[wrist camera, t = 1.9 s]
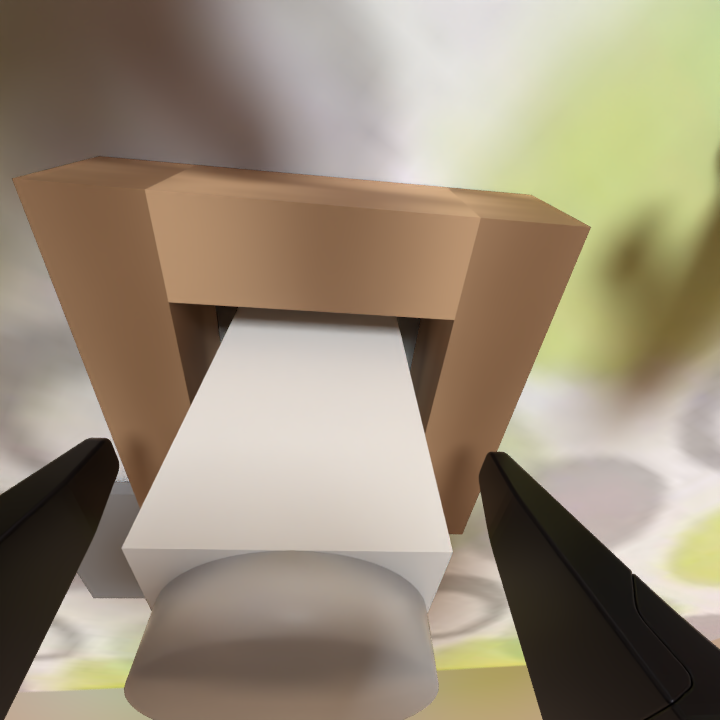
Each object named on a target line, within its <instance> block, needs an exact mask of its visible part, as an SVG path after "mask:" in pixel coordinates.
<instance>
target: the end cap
mask: <svg viewBox="0 0 720 720" xmlns="http://www.w3.org/2000/svg"><path fill="white" fill-rule="evenodd" d="M121 549H122V551H123V553H124V555H125V557H126V559H127V561H128V563H129V565H130V567H131V569H132V571H133V573H134V576H135V578H136V580H137V582H138V584H139V586H140V588H141V590H142V592H143V594H144V596H145V598H146V601H147V603H148V605H149V607H150V609H151V611H152V612H151V615H150V618H149V620H148V623H147V626H146V629H145V631H144V634H143V637H142V640H141V642H140V645H139V648H138V650H137V653H136V656H135V659H134V661H133V664H132V667H131V669H130V672H129V675H128V678H127V680H126V683H125V687H124V693H125V697H126V699H127V700H128V702H129V703H130V704H131V705H132V706H133V707H134V708H135V709H136V710H137V711H139V712H140V713H142V714H143V715H145V716H147V717H149V718H151V719H153V720H404V719H406V718H408V717H410V716H413V715H415V714H416V713H418V712H419V711H421V710H423V709H424V708H426V707H427V706H428V705H429V704H430V703H431V702H432V701H433V700H434V699H435V697H436V695H437V693H438V687H439V686H438V685H439V684H438V677H437V671H436V665H435V659H434V653H433V646H432V640H431V634H430V628H429V622H428V615H427V614H428V611H429V609H430V606H431V604H432V602H433V599H434V597H435V594H436V592H437V590H438V587H439V585H440V582H441V580H442V578H443V575H444V573H445V570H446V568H447V566H448V563H449V561H450V558H451V556H452V554H453V550H452V546H451V542H450V538H449V533H448V529H447V525H446V521H445V517H444V513H443V508H442V504H441V500H440V496H439V492H438V488H437V483H436V479H435V475H434V471H433V467H432V462H431V458H430V454H429V450H428V446H427V442H426V437H425V433H424V429H423V425H422V421H421V417H420V412H419V408H418V404H417V400H416V396H415V392H414V387H413V383H412V379H411V375H410V371H409V367H408V362H407V358H406V354H405V350H404V346H403V342H402V337H401V333H400V329H399V325H398V321H397V317H396V316H382V315H365V314H349V313H333V312H317V311H301V310H285V309H269V308H253V307H238V310H237V312H236V314H235V316H234V318H233V320H232V322H231V324H230V326H229V328H228V330H227V332H226V334H225V336H224V338H223V340H222V342H221V345H220V347H219V349H218V351H217V353H216V355H215V357H214V359H213V361H212V363H211V365H210V367H209V369H208V371H207V373H206V375H205V377H204V379H203V382H202V384H201V386H200V388H199V390H198V392H197V394H196V396H195V398H194V400H193V402H192V404H191V406H190V408H189V410H188V412H187V414H186V417H185V419H184V421H183V423H182V425H181V427H180V429H179V431H178V433H177V435H176V437H175V439H174V441H173V443H172V445H171V447H170V449H169V451H168V454H167V456H166V458H165V460H164V462H163V464H162V466H161V468H160V470H159V472H158V474H157V476H156V478H155V480H154V482H153V484H152V486H151V489H150V491H149V493H148V495H147V497H146V499H145V501H144V503H143V505H142V507H141V509H140V511H139V513H138V515H137V517H136V519H135V521H134V523H133V526H132V528H131V530H130V532H129V534H128V536H127V538H126V540H125V542H124V544H123V546H122V548H121Z"/></svg>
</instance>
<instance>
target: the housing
mask: <svg viewBox="0 0 720 720" xmlns="http://www.w3.org/2000/svg"><path fill="white" fill-rule="evenodd" d="M12 180H13V182H14V185H15V188H16V190H17V193H18V195H19V198H20V200H21V203H22V206H23V208H24V211H25V213H26V216H27V219H28V221H29V224H30V226H31V229H32V231H33V234H34V237H35V239H36V242H37V244H38V247H39V249H40V252H41V255H42V257H43V260H44V262H45V265H46V268H47V270H48V273H49V275H50V278H51V280H52V283H53V286H54V288H55V291H56V293H57V296H58V298H59V301H60V304H61V306H62V309H63V311H64V314H65V317H66V319H67V322H68V324H69V327H70V329H71V332H72V335H73V337H74V340H75V342H76V345H77V348H78V350H79V353H80V355H81V358H82V360H83V363H84V366H85V368H86V371H87V373H88V376H89V378H90V381H91V384H92V386H93V389H94V391H95V394H96V397H97V399H98V402H99V404H100V407H101V409H102V412H103V415H104V417H105V420H106V422H107V425H108V427H109V430H110V433H111V435H112V438H113V440H114V443H115V446H116V448H117V451H118V453H119V456H120V458H121V461H122V464H123V466H124V469H125V471H126V474H127V476H128V479H129V482H130V484H131V487H132V489H133V492H134V495H135V497H136V500H137V502H138V505H139V507H140V509H141V507H142V505H143V503H144V501H145V499H146V497H147V495H148V493H149V491H150V489H151V486H152V484H153V482H154V480H155V478H156V476H157V474H158V472H159V470H160V468H161V466H162V464H163V462H164V460H165V458H166V456H167V454H168V451H169V449H170V447H171V445H172V443H173V441H174V439H175V437H176V435H177V433H178V431H179V429H180V427H181V425H182V423H183V421H184V419H185V417H186V414H187V412H188V410H189V408H190V406H191V404H192V402H193V400H194V398H195V396H196V394H197V392H198V390H199V388H200V386H201V384H202V382H203V379H204V377H205V375H206V373H207V371H208V369H209V367H210V365H211V363H212V361H213V359H214V357H215V355H216V353H217V351H218V349H219V347H220V345H221V344H220V337H219V330H218V323H217V315H216V308H215V305H220V306H236V307H253V308H269V309H285V310H301V311H317V312H333V313H349V314H365V315H382V316H398V317H414V318H421V321H420V326H419V331H418V336H417V341H416V346H415V351H414V355H413V360H412V365H411V370H410V375H411V379H412V383H413V387H414V392H415V396H416V400H417V404H418V408H419V412H420V417H421V421H422V425H423V429H424V433H425V437H426V442H427V446H428V450H429V454H430V458H431V462H432V467H433V471H434V475H435V479H436V483H437V488H438V492H439V496H440V500H441V504H442V508H443V513H444V517H445V521H446V525H447V529H448V533H449V534H462V533H463V531H464V529H465V526H466V524H467V521H468V519H469V517H470V514H471V512H472V510H473V507H474V505H475V502H476V500H477V498H478V495H479V493H480V486H479V472H480V469H481V467H482V464H483V462H484V459H485V457H486V455H487V453H488V452H491V451H492V452H497V450H498V448H499V445H500V443H501V440H502V438H503V436H504V433H505V431H506V428H507V426H508V424H509V421H510V419H511V417H512V414H513V412H514V409H515V407H516V405H517V402H518V400H519V397H520V395H521V393H522V390H523V388H524V386H525V383H526V381H527V378H528V376H529V374H530V371H531V369H532V366H533V364H534V362H535V359H536V357H537V355H538V352H539V350H540V347H541V345H542V343H543V340H544V338H545V335H546V333H547V331H548V328H549V326H550V324H551V321H552V319H553V316H554V314H555V312H556V309H557V307H558V304H559V302H560V300H561V297H562V295H563V293H564V290H565V288H566V285H567V283H568V281H569V278H570V276H571V273H572V271H573V269H574V266H575V264H576V262H577V259H578V257H579V254H580V252H581V250H582V247H583V245H584V242H585V240H586V238H587V235H588V233H589V231H590V228H591V227H590V226H588V225H586V224H584V223H582V222H581V221H579V220H577V219H575V218H573V217H571V216H569V215H568V214H566V213H564V212H562V211H560V210H558V209H557V208H555V207H553V206H551V205H549V204H547V203H545V202H544V201H542V200H540V199H538V198H536V197H534V196H532V195H526V194H515V193H504V192H492V191H481V190H470V189H459V188H448V187H437V186H426V185H414V184H403V183H392V182H381V181H370V180H359V179H348V178H336V177H325V176H314V175H303V174H292V173H281V172H269V171H258V170H247V169H236V168H225V167H214V166H203V165H191V164H180V163H169V162H158V161H147V160H136V159H125V158H113V157H102V156H98V157H94V158H90V159H86V160H82V161H78V162H74V163H70V164H66V165H63V166H59V167H55V168H51V169H47V170H43V171H39V172H35V173H31V174H28V175H24V176H20V177H16V178H12Z"/></svg>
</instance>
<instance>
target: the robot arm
mask: <svg viewBox="0 0 720 720" xmlns="http://www.w3.org/2000/svg"><path fill="white" fill-rule="evenodd" d="M118 471H119V461H118V458H117V455H116V453H115V450H114V448H113V445H112V443H111V441H110V440H109V439H107V438H88V439H86V440H84V441H83V442H81V443H80V444H78V445H77V446H75V447H73V448H72V449H70V450H69V451H67V452H66V453H64V454H63V455H61V456H60V457H58V458H57V459H55V460H53V461H52V462H50V463H49V464H47V465H46V466H44V467H43V468H41V469H40V470H38V471H37V472H35V473H33V474H32V475H30V476H29V477H27V478H26V479H24V480H23V481H21V482H20V483H18V484H17V485H15V486H13V487H12V488H10V489H9V490H7V491H6V492H4V493H3V494H1V495H0V720H4V719H5V716H6V715H7V713H8V711H9V709H10V707H11V704H12V703H13V700H14V699H15V697H16V695H17V693H18V691H19V688H20V686H21V684H22V682H23V680H24V678H25V676H26V674H27V672H28V670H29V668H30V666H31V664H32V662H33V660H34V658H35V656H36V654H37V652H38V650H39V648H40V646H41V644H42V642H43V640H44V638H45V636H46V634H47V632H48V630H49V628H50V626H51V624H52V621H53V619H54V617H55V615H56V613H57V611H58V609H59V607H60V605H61V603H62V601H63V599H64V597H65V595H66V593H67V591H68V589H69V587H70V585H71V583H72V581H73V579H74V577H75V575H76V573H77V571H78V569H79V567H80V565H81V563H82V561H83V559H84V557H85V555H86V552H87V550H88V548H89V546H90V544H91V542H92V540H93V538H94V536H95V533H96V531H97V528H98V526H99V523H100V520H101V518H102V515H103V512H104V510H105V507H106V504H107V501H108V499H109V496H110V493H111V490H112V488H113V485H114V482H115V480H116V477H117V474H118ZM479 486H480V491H481V497H482V502H483V507H484V513H485V518H486V524H487V529H488V534H489V539H490V543H491V547H492V551H493V554H494V557H495V561H496V564H497V567H498V571H499V574H500V577H501V581H502V584H503V588H504V591H505V594H506V598H507V601H508V604H509V608H510V611H511V614H512V618H513V621H514V625H515V628H516V631H517V635H518V638H519V641H520V645H521V648H522V651H523V655H524V658H525V662H526V665H527V668H528V672H529V675H530V678H531V681H532V685H533V688H534V691H535V695H536V698H537V702H538V705H539V709H540V712H541V715H542V719H543V720H720V649H719V648H718V647H716V646H715V645H714V644H713V643H712V642H711V641H709V640H708V639H707V638H706V637H705V636H703V635H702V634H701V633H700V632H699V631H698V630H696V629H695V628H694V627H693V626H692V625H691V624H689V623H688V622H687V621H686V620H685V619H684V618H682V617H681V616H680V615H679V614H678V613H677V612H676V611H675V610H673V609H672V608H671V607H670V606H669V605H668V604H667V603H666V602H665V601H664V600H662V599H661V598H660V597H659V596H658V595H657V594H656V593H655V592H654V591H653V590H651V589H650V588H649V587H648V586H647V585H646V584H645V583H644V582H643V581H642V580H641V579H640V578H639V577H638V576H637V575H635V574H632V571H631V570H630V569H629V568H628V567H627V566H626V565H625V564H624V563H623V562H622V561H620V560H619V559H618V558H617V557H616V556H615V555H614V554H613V553H612V552H611V551H610V550H609V549H608V548H607V547H606V546H605V545H603V544H602V543H601V542H600V541H599V540H598V539H597V538H596V537H595V536H594V535H593V534H592V533H591V532H590V531H589V530H588V529H586V528H585V527H584V526H583V525H582V524H581V523H580V522H579V521H578V520H577V519H576V518H575V517H574V516H573V515H572V514H571V513H569V512H568V511H567V510H566V509H565V508H564V507H563V506H562V505H561V504H560V503H559V502H558V501H557V500H556V499H555V498H554V497H552V496H551V495H550V494H549V493H548V492H547V491H546V490H545V489H544V488H543V487H542V486H541V485H540V484H539V483H538V482H537V481H535V480H534V479H533V478H532V477H531V476H530V475H529V474H528V473H527V472H526V471H525V470H524V469H523V468H522V467H521V466H520V465H518V464H517V463H516V462H515V461H514V460H513V459H512V458H511V457H510V456H509V455H508V454H506V453H505V452H492V451H491V452H488V453H487V455H486V457H485V459H484V462H483V464H482V467H481V469H480V472H479Z"/></svg>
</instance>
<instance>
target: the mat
mask: <svg viewBox="0 0 720 720" xmlns="http://www.w3.org/2000/svg"><path fill="white" fill-rule="evenodd" d="M139 511H140V507H139V505H138V502H137V500H136V497H135V495H134V492H133V489H132V487H131V484H130V482H114V485H113V488H112V490H111V493H110V496H109V499H108V501H107V504H106V507H105V510H104V512H103V515H102V518H101V520H100V523H99V526H98V528H97V531H96V533H95V536H94V538H93V540H92V542H91V544H90V546H89V548H88V550H87V552H86V555H85V557H84V559H83V561H82V563H81V565H80V567H79V569H78V571H77V573H78V575H79V576H80V578H81V579H82V581H83V582H84V584H85V586H86V587H87V589H88V590H89V592H90V593H91V595H92V596H93V598H145V596H144V594H143V592H142V590H141V588H140V586H139V584H138V582H137V580H136V578H135V576H134V573H133V571H132V569H131V567H130V565H129V563H128V561H127V559H126V557H125V555H124V553H123V551H122V549H121V548H122V546H123V544H124V542H125V540H126V538H127V536H128V534H129V532H130V530H131V528H132V526H133V523H134V521H135V519H136V517H137V515H138V513H139Z"/></svg>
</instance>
